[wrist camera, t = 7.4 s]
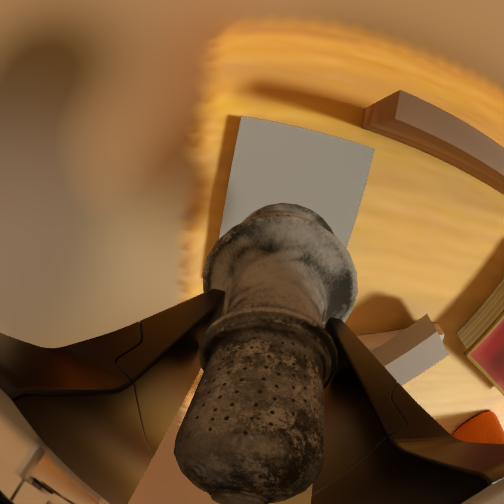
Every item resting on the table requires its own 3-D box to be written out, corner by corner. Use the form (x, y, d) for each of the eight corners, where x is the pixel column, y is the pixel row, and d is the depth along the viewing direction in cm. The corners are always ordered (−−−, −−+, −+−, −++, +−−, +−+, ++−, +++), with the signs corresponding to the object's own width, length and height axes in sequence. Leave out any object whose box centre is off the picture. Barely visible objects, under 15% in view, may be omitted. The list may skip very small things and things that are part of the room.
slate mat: (321, 307, 22) (321, 314, 21) (214, 281, 22) (211, 287, 22) (370, 148, 17) (374, 148, 16) (244, 117, 17) (241, 115, 16)
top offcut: (439, 337, 19) (448, 354, 17) (341, 396, 23) (343, 414, 21) (426, 313, 18) (437, 331, 16) (321, 379, 23) (322, 398, 20)
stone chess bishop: (202, 238, 14) (22, 441, 3) (303, 172, 12) (340, 474, 1) (267, 323, 15) (212, 546, 4) (363, 274, 13) (435, 527, 2)
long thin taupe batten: (511, 199, 15) (561, 222, 9) (361, 127, 16) (395, 118, 10) (515, 184, 14) (566, 203, 8) (365, 108, 16) (399, 89, 9)
